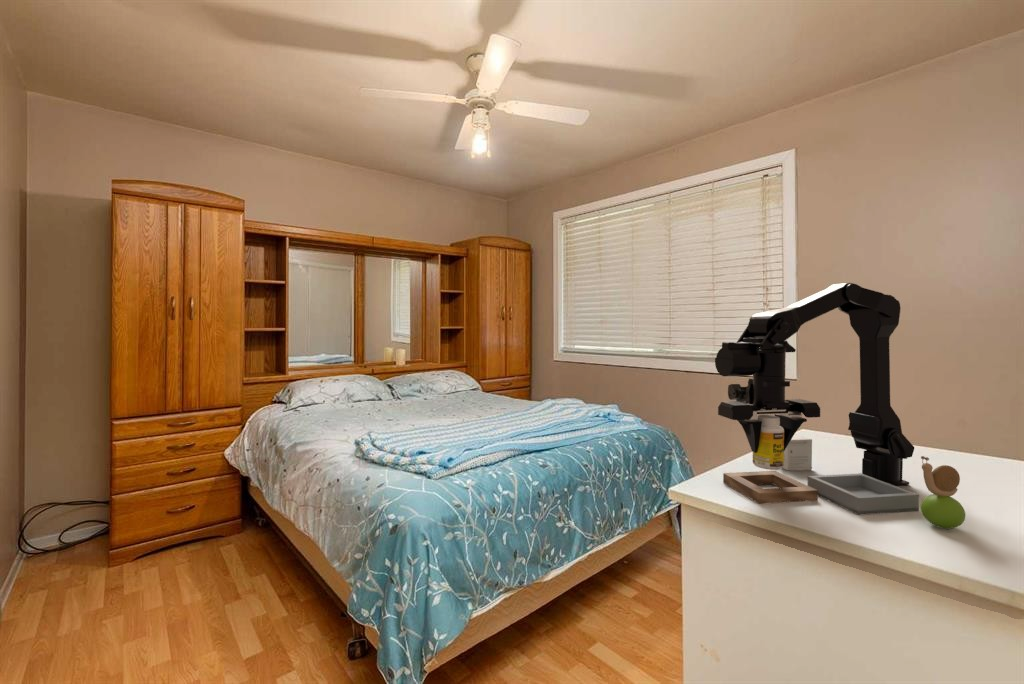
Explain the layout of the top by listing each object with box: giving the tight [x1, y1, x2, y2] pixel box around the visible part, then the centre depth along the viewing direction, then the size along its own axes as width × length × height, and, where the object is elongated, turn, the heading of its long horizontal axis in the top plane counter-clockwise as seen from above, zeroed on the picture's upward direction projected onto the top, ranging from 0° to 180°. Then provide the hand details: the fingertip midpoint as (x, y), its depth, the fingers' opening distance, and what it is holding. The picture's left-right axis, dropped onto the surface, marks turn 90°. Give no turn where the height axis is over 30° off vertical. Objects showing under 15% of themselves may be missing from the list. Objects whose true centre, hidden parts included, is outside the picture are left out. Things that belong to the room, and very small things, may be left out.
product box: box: [782, 433, 813, 472], centre depth 110 cm, size 6×6×7 cm
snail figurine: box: [920, 455, 966, 530], centre depth 76 cm, size 5×6×12 cm
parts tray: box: [807, 472, 920, 516], centre depth 89 cm, size 12×12×3 cm
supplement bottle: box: [752, 414, 784, 471], centre depth 93 cm, size 6×6×10 cm
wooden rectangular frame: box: [722, 470, 819, 505], centre depth 94 cm, size 12×12×2 cm
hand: (768, 451), depth 94 cm, fingers closed on supplement bottle, 5 cm apart
